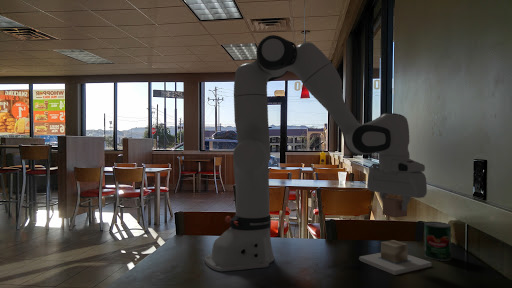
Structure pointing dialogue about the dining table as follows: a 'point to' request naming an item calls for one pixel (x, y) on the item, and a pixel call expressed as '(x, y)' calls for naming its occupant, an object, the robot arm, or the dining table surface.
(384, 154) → the robot arm
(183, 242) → the dining table surface
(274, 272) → the dining table surface
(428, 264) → the white flat square slab
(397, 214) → the terracotta block
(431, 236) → the canned tomato
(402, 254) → the birch block
